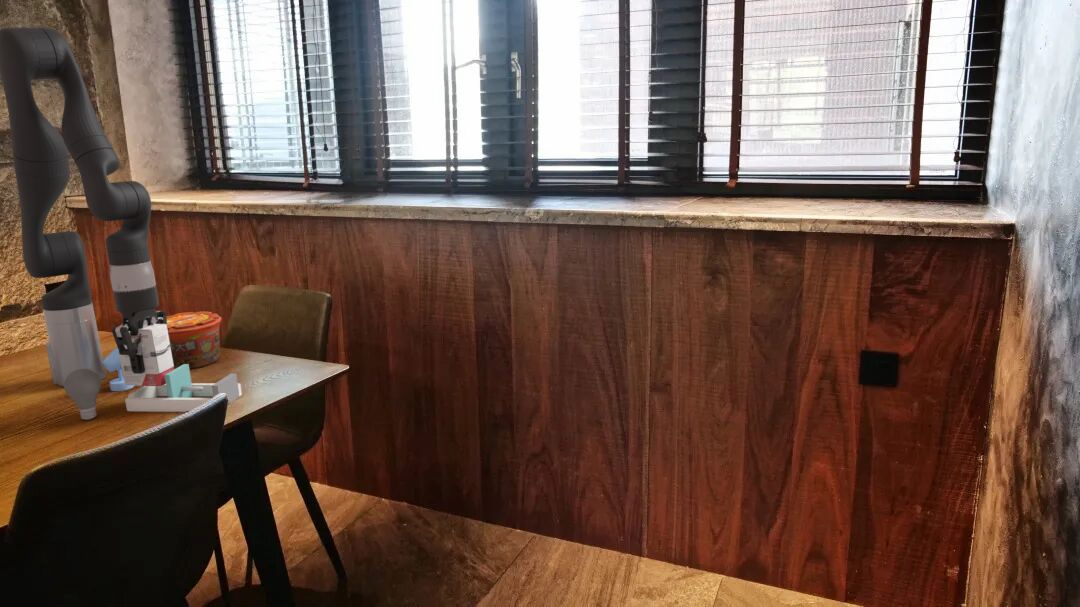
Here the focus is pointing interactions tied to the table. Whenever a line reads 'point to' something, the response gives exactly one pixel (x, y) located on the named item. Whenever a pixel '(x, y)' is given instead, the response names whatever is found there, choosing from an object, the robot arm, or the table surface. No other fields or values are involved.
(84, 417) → the light bulb
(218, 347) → the food container
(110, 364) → the spotlight
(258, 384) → the table surface
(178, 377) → the pusher
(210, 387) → the light grey piece
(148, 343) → the ink box
